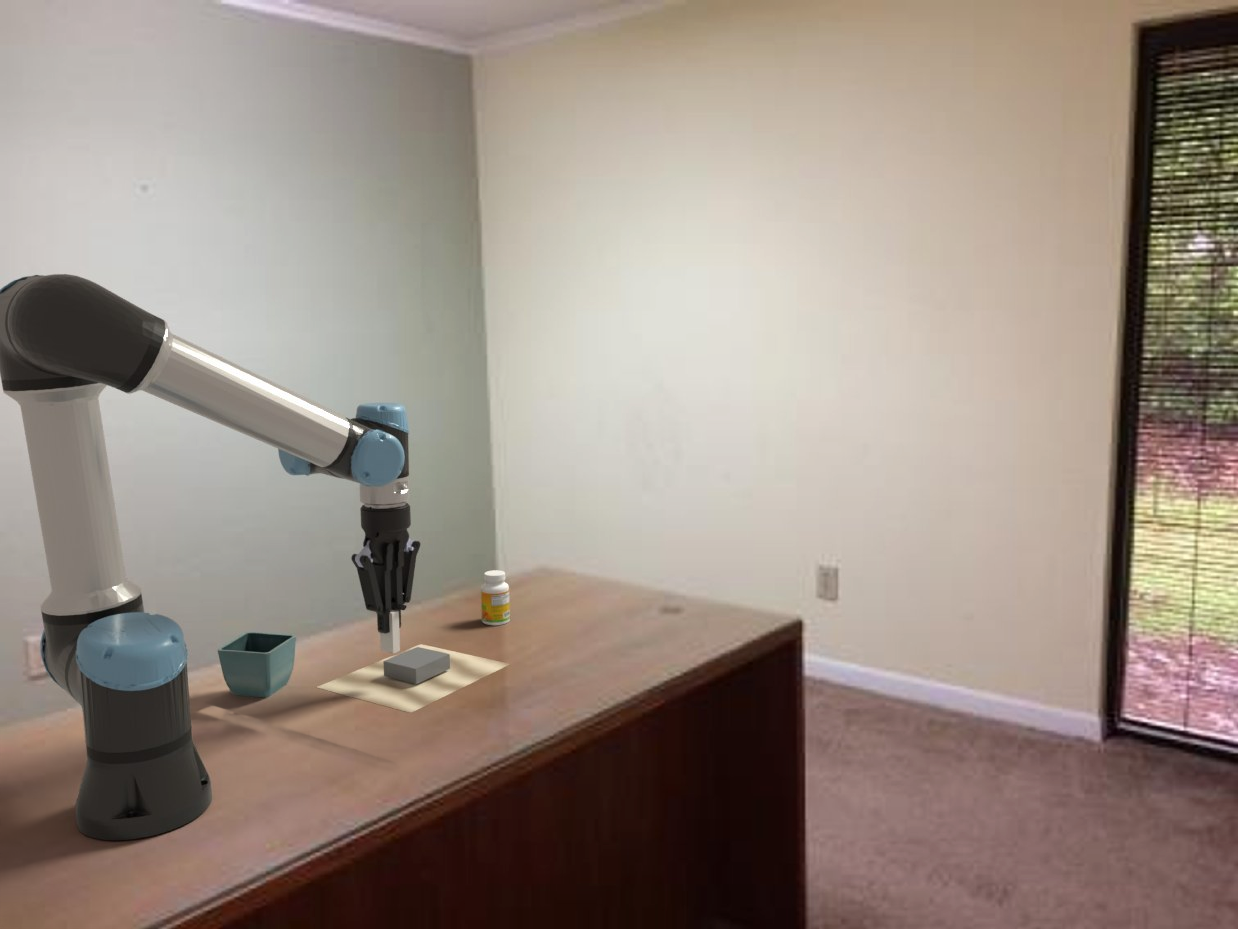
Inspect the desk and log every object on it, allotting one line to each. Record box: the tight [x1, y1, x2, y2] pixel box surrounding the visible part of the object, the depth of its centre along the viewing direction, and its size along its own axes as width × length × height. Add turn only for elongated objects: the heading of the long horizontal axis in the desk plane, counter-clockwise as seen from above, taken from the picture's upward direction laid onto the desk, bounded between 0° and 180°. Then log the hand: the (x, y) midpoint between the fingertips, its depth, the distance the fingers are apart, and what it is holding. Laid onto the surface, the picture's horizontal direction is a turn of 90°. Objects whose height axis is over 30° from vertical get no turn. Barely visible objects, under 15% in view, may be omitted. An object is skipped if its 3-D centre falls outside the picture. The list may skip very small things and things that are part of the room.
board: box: [316, 643, 511, 714], centre depth 168 cm, size 24×20×1 cm
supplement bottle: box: [480, 569, 511, 626], centre depth 199 cm, size 5×5×10 cm
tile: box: [383, 647, 450, 684], centre depth 168 cm, size 3×7×8 cm
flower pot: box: [217, 631, 297, 698], centre depth 162 cm, size 9×9×9 cm
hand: (390, 650), depth 163 cm, fingers closed
